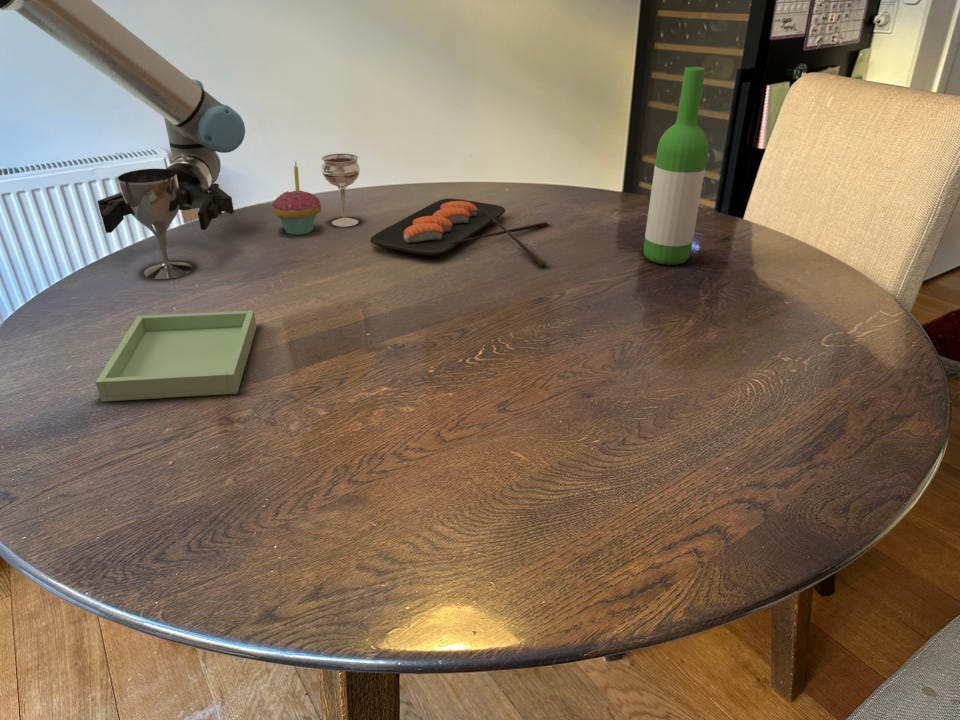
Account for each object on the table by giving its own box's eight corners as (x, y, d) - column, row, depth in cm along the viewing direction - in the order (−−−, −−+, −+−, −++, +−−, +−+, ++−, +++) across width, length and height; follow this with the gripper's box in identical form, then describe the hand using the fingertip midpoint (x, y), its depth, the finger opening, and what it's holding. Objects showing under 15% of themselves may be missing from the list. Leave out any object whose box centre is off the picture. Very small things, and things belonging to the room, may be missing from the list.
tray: (101, 401, 78) (95, 382, 77) (142, 333, 92) (137, 315, 91) (237, 393, 80) (233, 374, 78) (256, 327, 94) (253, 310, 93)
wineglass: (339, 230, 128) (333, 164, 122) (319, 221, 132) (313, 157, 126) (370, 223, 132) (366, 158, 126) (350, 214, 136) (345, 151, 130)
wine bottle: (639, 263, 116) (665, 69, 101) (645, 247, 123) (670, 63, 108) (687, 269, 114) (721, 72, 99) (690, 253, 121) (723, 66, 106)
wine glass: (205, 268, 112) (187, 174, 104) (161, 284, 106) (139, 186, 98) (174, 257, 115) (154, 165, 108) (130, 272, 109) (106, 176, 102)
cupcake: (283, 222, 131) (275, 157, 125) (328, 223, 131) (322, 158, 125) (269, 238, 124) (260, 170, 118) (317, 239, 124) (310, 171, 118)
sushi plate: (445, 205, 142) (444, 187, 140) (586, 229, 131) (588, 209, 129) (363, 251, 119) (361, 229, 117) (526, 284, 108) (527, 261, 106)
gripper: (104, 163, 120) (58, 200, 101) (255, 160, 123) (236, 195, 105) (115, 206, 123) (72, 249, 105) (261, 202, 127) (244, 243, 109)
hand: (154, 222), depth 105 cm, fingers open, 13 cm apart
